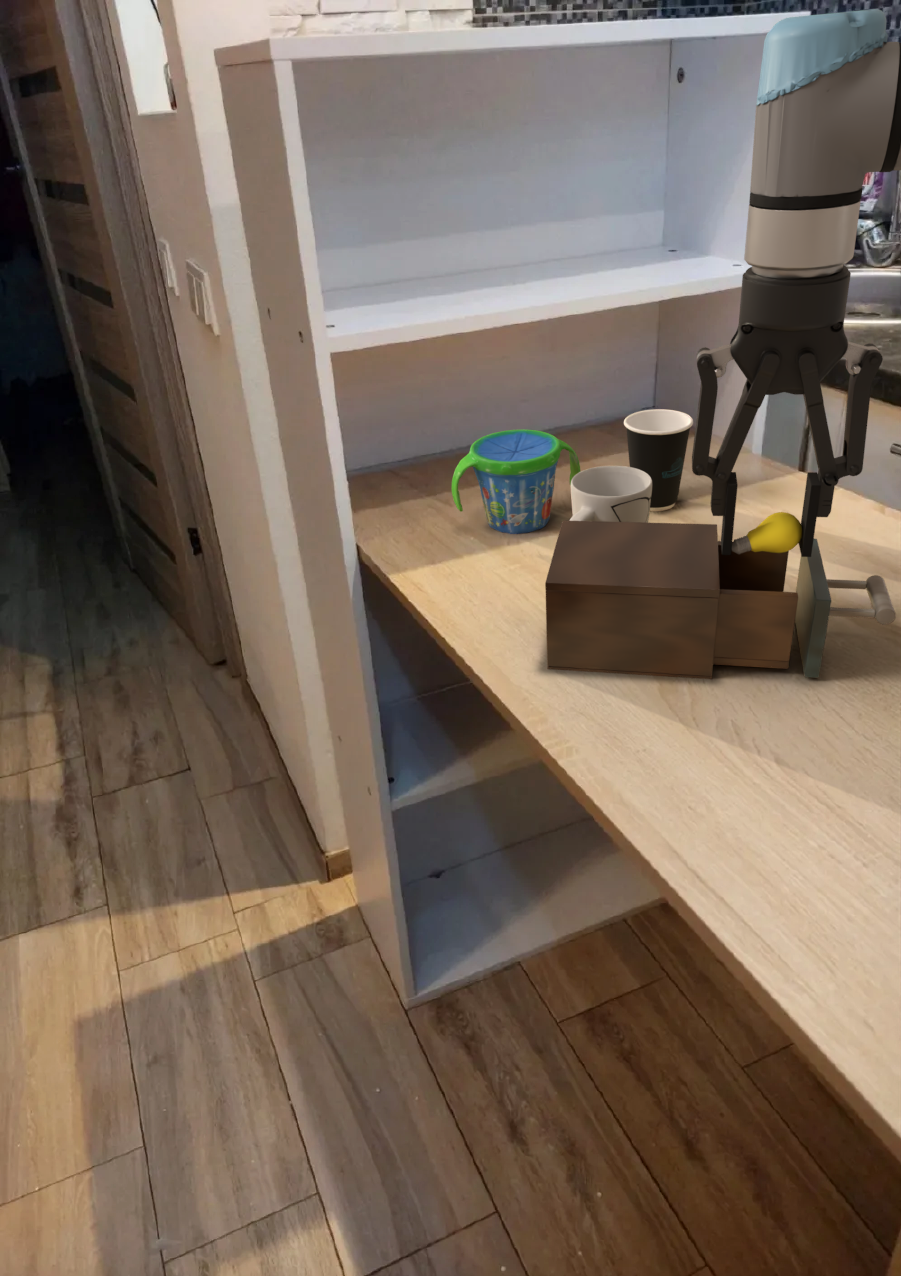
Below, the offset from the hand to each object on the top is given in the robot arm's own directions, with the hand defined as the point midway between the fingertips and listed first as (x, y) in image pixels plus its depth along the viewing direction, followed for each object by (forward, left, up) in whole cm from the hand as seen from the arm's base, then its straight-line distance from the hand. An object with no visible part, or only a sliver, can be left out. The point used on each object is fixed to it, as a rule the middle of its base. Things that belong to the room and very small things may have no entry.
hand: (764, 548), depth 80 cm
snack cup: (+26, -26, -11) cm, 38 cm away
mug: (+15, -15, -11) cm, 24 cm away
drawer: (-1, -1, -10) cm, 10 cm away
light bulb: (0, 0, 0) cm, 0 cm away
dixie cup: (+10, -32, -11) cm, 35 cm away
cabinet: (+11, -1, -11) cm, 15 cm away
